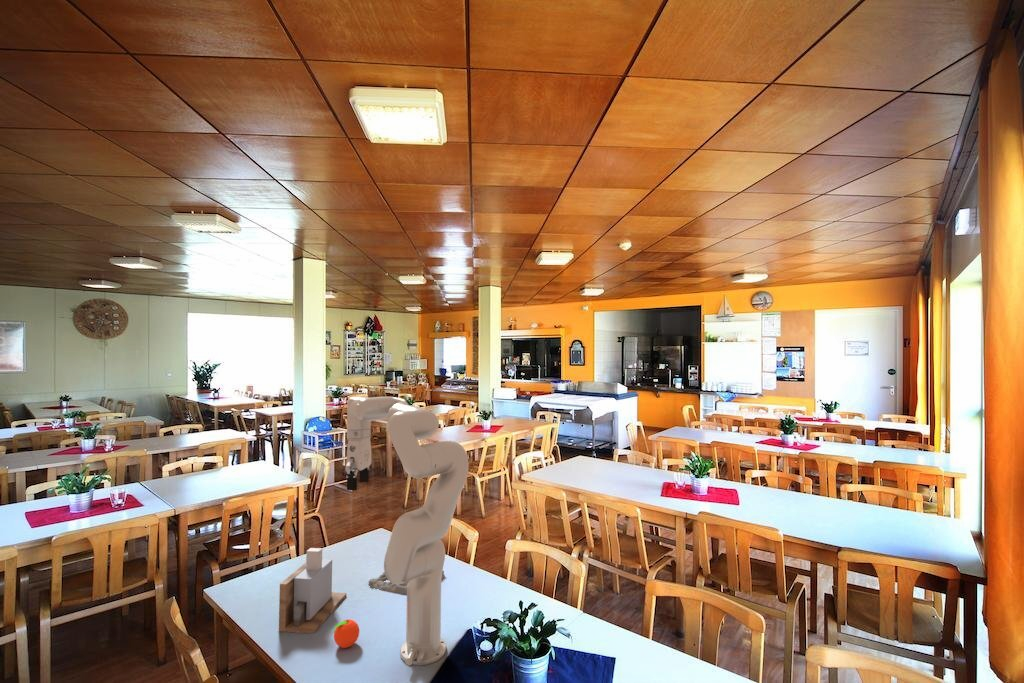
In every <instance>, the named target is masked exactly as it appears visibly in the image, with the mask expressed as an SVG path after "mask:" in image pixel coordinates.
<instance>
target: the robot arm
mask: <svg viewBox="0 0 1024 683" xmlns="http://www.w3.org/2000/svg"><path fill="white" fill-rule="evenodd" d="M346 404H347V406H346V408H347V409H346V411H347V415H346V418H347V419H346V440H347V449H346V465H345V475H346V490H347V491H357V490H358V482H360V483H369V481H370V466H371V465H372V443H371V433H372V432H371V429H372V428H371V427H372V425H371V424H372V422H373V421H381V420H386V423H387V432H388V433H387V434H388V436H389V439H390V441H391V443H392V445H393V448H394V450H395V451H396V454H397V456H398V458H399V460H400V463H401V465H402V467H403V469H404V470H405V472H406V473H407V475H408V476H410V477H411V478H412V479H413V478H414V479H424V478H427V477H432V476H435V475H438V476H437V478H436V479H435V481H433V483H432V484H431V486H430V487H429V490H428V492H427V495H426V499H425V500H424V503H423V505H422V506H421V507H419V508H416V509H413V510H411V511H408V512H406V513H403V514H402V515H400V516H399V517H398V518H397V520H396V521H395V523H394V525H393V527H392V531H391V534H390V538H389V540H388V545H387V548H386V550H385V551H386V552H385V555H384V560H383V570H384V571H383V572H385V575H386V577H387V579H388V580H387V581H388V582H389V581H390V582H391V583H393V584H403V583H406V582H408V581H409V583H408V587H407V595H406V622H405V623H406V624H405V625H406V627H405V629H406V630H405V632H406V638H405V639H406V640H405V641H404V642H403V643H402V645H401V646H400V650H399V651H400V652H399V654H400V657H401V659H402V661H404V662H405V664H406V665H407V666H412V665H413V666H426V665H430V664H432V663H435V662H437V661H438V660H440V659H441V658H443V656H444V655H445V653H446V651H447V649H446V648H447V643H446V641H445V640H444V638H442V637H441V628H442V627H441V625H442V622H441V618H442V610H441V609H442V580H443V578H442V571H444V570H443V569H444V567H445V566H444V565H445V561H446V560H445V559H446V548H445V545H444V542H443V541H442V539H443V538H444V537H445V536H446V535H447V533H448V532H449V530H450V526H451V523H452V520H453V517H454V514H455V510H456V507H457V505H458V501H459V499H460V496H461V494H462V491H463V489H464V486H465V484H466V482H467V478H468V474H469V465H470V464H469V459H468V455H467V451H466V449H465V448H464V447H463V446H462V444H460V443H459V442H457V441H454V440H453V441H452V440H443V441H437V442H430V443H426V444H425V443H424V444H420V443H419V442H418V441H419V440H425V439H426V440H427V439H428V438H430V437H432V436H434V435H435V434H436V432H437V431H438V430H439V426H440V422H439V418H438V417H437V416H438V415H436V414H435V412H433V411H431V410H429V409H425V408H423V407H418V406H415V405H410V404H409V403H408V402H407V400H405V399H403V398H400V397H394V396H375V397H373V396H372V397H369V396H368V397H367V396H351V397H349V398H348V399H347V403H346ZM358 472H359V474H358ZM357 475H358V476H359V477H357ZM358 478H359V479H358ZM358 480H359V481H358Z"/></svg>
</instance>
